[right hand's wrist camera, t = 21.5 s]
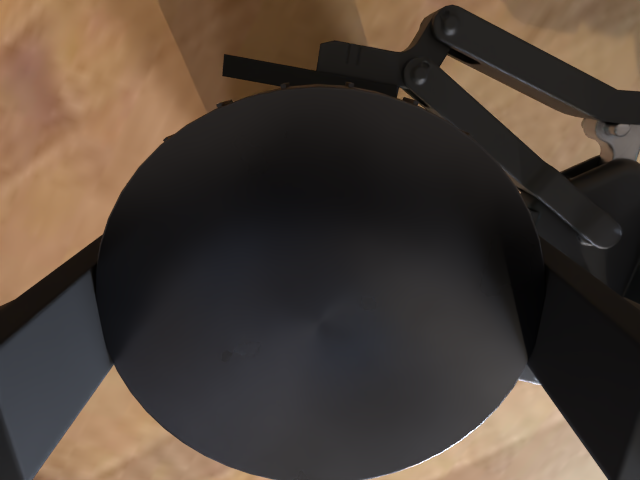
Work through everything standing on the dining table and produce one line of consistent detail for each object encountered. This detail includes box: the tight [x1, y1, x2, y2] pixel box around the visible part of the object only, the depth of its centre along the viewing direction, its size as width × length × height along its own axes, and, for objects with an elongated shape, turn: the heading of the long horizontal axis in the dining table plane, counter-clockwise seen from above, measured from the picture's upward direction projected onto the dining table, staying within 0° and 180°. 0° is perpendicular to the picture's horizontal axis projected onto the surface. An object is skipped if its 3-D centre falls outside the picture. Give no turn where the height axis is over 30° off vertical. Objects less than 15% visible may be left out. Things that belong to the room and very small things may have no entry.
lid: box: [96, 82, 545, 480], centre depth 11 cm, size 10×10×2 cm
